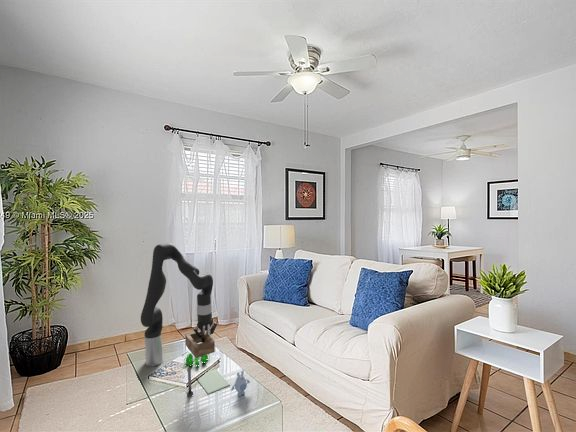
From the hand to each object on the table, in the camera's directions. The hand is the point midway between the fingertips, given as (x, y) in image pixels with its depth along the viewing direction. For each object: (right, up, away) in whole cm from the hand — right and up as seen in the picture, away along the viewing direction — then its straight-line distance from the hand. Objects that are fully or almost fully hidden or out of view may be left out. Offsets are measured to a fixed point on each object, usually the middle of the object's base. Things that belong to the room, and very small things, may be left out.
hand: (205, 342), depth 170 cm
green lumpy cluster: (-11, -20, +21) cm, 31 cm away
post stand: (-5, -22, -10) cm, 25 cm away
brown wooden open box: (-2, -1, -4) cm, 5 cm away
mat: (+3, -21, +1) cm, 22 cm away
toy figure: (+20, -22, -10) cm, 32 cm away
